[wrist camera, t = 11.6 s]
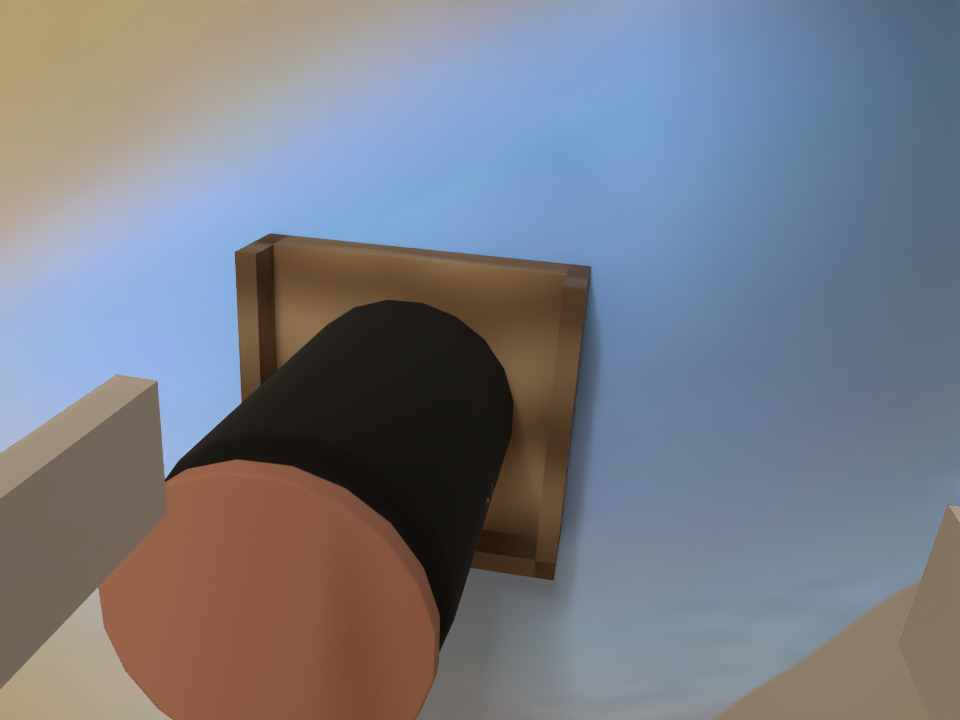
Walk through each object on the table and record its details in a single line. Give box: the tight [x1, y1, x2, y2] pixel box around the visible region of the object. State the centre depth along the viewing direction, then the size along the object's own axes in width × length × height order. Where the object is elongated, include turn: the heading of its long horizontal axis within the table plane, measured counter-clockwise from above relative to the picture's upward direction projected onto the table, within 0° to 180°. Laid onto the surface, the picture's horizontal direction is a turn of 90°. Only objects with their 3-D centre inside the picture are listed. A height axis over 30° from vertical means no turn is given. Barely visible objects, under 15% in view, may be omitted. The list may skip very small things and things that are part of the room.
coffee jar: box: [98, 300, 514, 720], centre depth 33 cm, size 11×11×18 cm
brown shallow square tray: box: [235, 234, 590, 580], centre depth 42 cm, size 15×16×4 cm
